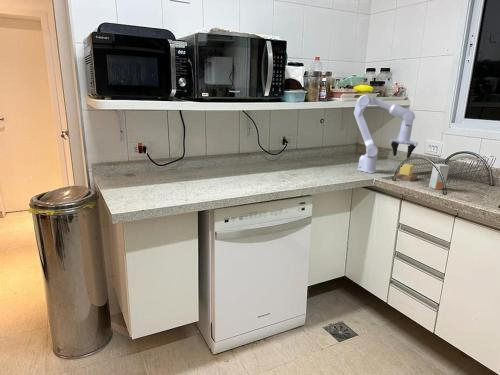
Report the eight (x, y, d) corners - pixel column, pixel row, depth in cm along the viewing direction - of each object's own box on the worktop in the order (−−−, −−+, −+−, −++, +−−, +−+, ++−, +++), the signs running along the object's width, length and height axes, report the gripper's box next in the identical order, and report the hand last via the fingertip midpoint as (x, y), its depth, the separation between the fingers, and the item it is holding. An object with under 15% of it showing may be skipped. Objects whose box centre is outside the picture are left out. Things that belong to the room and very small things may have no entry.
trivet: (393, 177, 190) (394, 173, 190) (400, 175, 197) (401, 171, 196) (410, 181, 184) (411, 176, 184) (416, 179, 190) (417, 174, 190)
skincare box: (434, 189, 171) (439, 165, 167) (428, 187, 174) (433, 163, 171) (444, 189, 172) (450, 165, 169) (438, 186, 176) (443, 163, 173)
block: (399, 173, 190) (401, 164, 188) (403, 172, 193) (405, 163, 192) (408, 175, 186) (410, 166, 185) (412, 174, 190) (414, 165, 188)
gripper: (389, 131, 194) (385, 155, 198) (415, 134, 184) (411, 159, 188) (395, 130, 199) (391, 154, 203) (421, 134, 189) (416, 158, 193)
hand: (401, 156), depth 196 cm, fingers open, 7 cm apart
